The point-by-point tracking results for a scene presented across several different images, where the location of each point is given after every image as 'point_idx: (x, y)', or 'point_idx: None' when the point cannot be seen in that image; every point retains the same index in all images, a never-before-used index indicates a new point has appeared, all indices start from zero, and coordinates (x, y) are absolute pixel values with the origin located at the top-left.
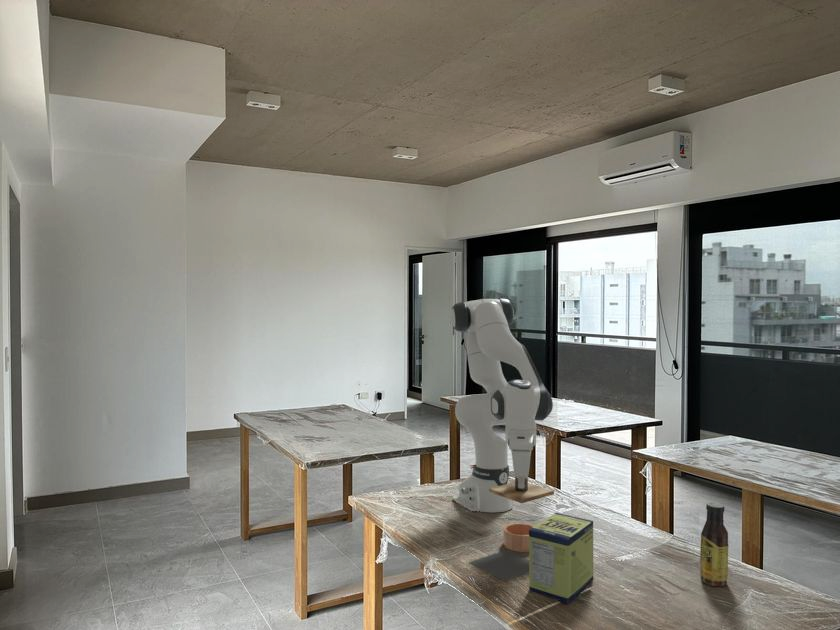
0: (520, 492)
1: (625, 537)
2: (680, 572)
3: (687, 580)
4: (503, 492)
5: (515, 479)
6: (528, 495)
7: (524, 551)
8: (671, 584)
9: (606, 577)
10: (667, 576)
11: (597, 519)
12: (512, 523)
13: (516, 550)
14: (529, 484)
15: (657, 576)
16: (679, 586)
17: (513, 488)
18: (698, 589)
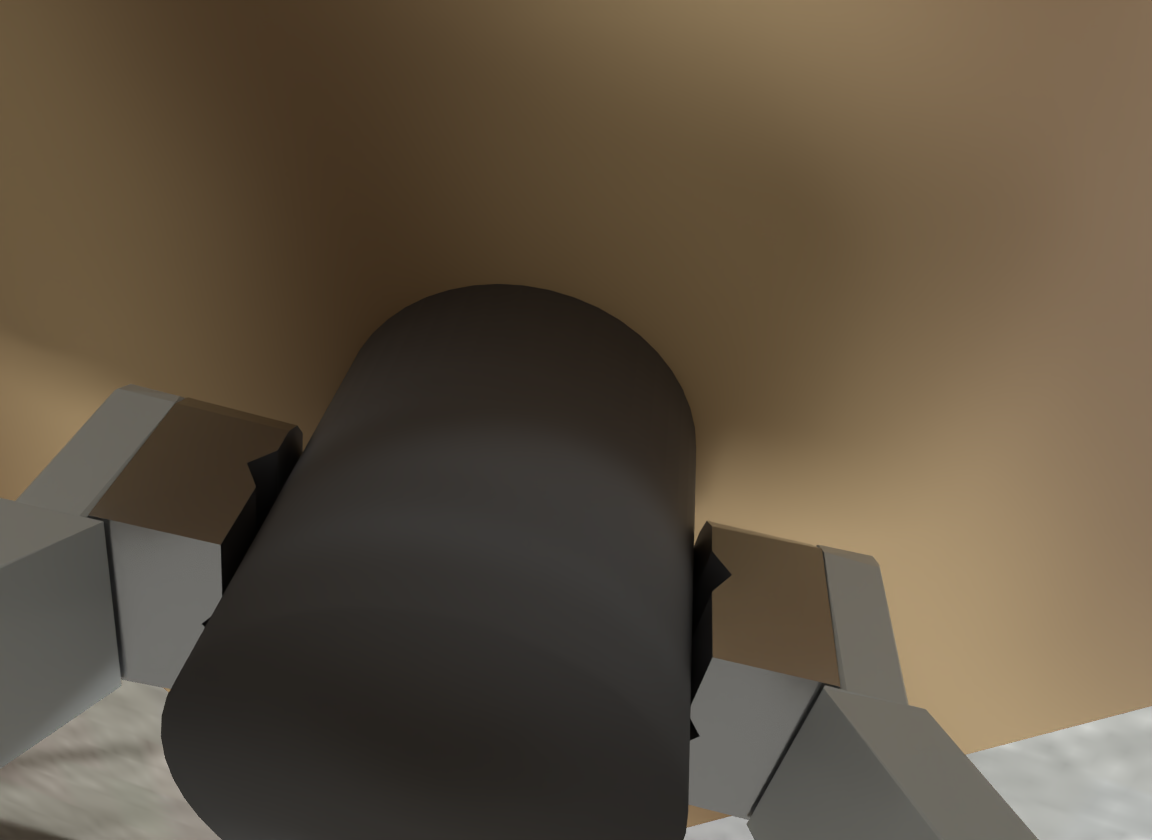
0: (248, 358)
1: (720, 825)
2: (205, 833)
3: (113, 818)
4: None
5: (378, 504)
6: (26, 469)
7: None
8: (43, 751)
9: None
10: (141, 774)
11: (1125, 819)
12: None
13: None
14: (931, 705)
15: (130, 739)
16: (30, 768)
17: (656, 266)
18: (20, 812)
